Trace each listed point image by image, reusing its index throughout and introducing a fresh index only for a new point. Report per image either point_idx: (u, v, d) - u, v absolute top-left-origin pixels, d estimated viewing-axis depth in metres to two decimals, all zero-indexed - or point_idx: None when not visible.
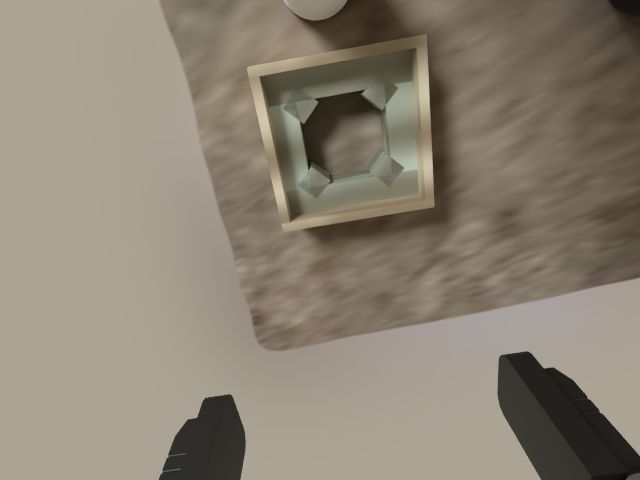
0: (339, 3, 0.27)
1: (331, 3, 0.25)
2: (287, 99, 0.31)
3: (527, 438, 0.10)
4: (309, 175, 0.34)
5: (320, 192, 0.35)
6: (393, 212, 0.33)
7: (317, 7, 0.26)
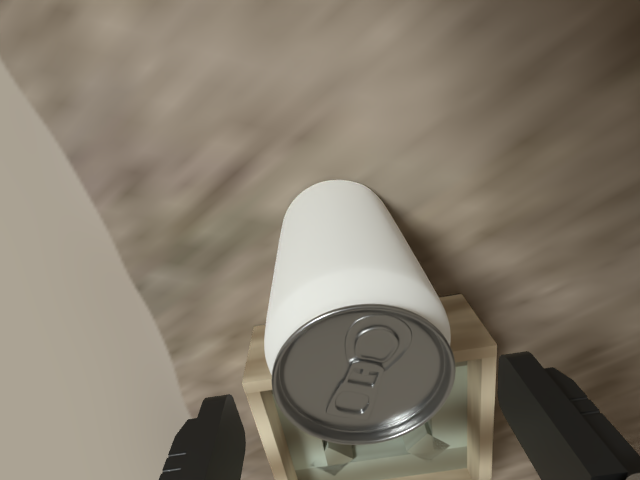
0: None
1: None
2: None
3: (527, 438, 0.10)
4: (325, 455, 0.26)
5: (339, 469, 0.27)
6: None
7: None
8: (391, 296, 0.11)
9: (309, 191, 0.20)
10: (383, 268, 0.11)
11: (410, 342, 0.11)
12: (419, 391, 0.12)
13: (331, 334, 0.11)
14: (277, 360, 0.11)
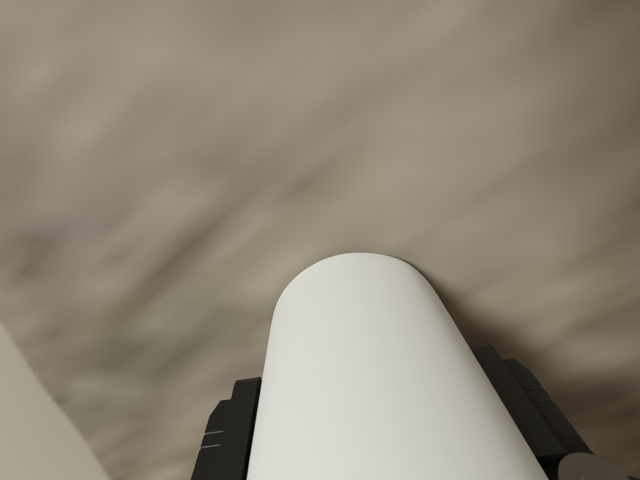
0: None
1: None
2: None
3: None
4: None
5: None
6: None
7: None
8: None
9: (315, 275, 0.12)
10: None
11: None
12: None
13: None
14: None
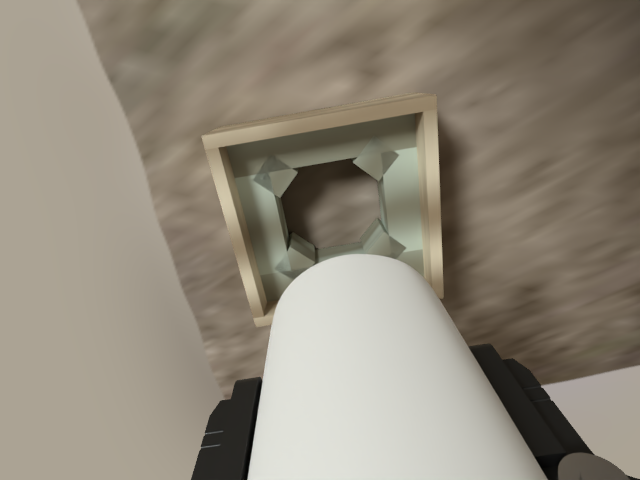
0: None
1: None
2: (258, 169, 0.25)
3: None
4: (288, 256, 0.27)
5: None
6: None
7: None
8: None
9: (315, 277, 0.12)
10: None
11: None
12: None
13: None
14: None
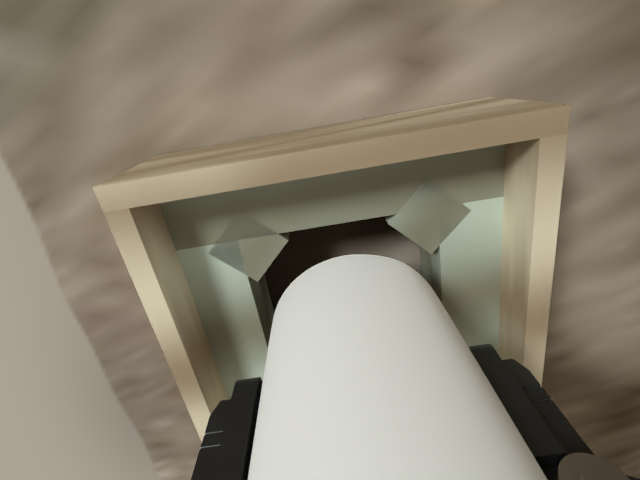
0: None
1: None
2: (218, 236, 0.14)
3: None
4: None
5: None
6: None
7: None
8: None
9: (315, 277, 0.12)
10: None
11: None
12: None
13: None
14: None
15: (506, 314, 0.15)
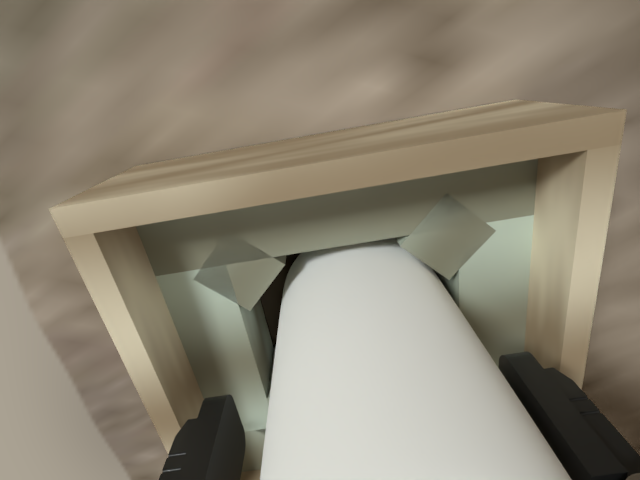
0: None
1: None
2: (204, 259, 0.12)
3: None
4: None
5: None
6: None
7: None
8: None
9: None
10: None
11: None
12: None
13: None
14: None
15: (534, 347, 0.13)
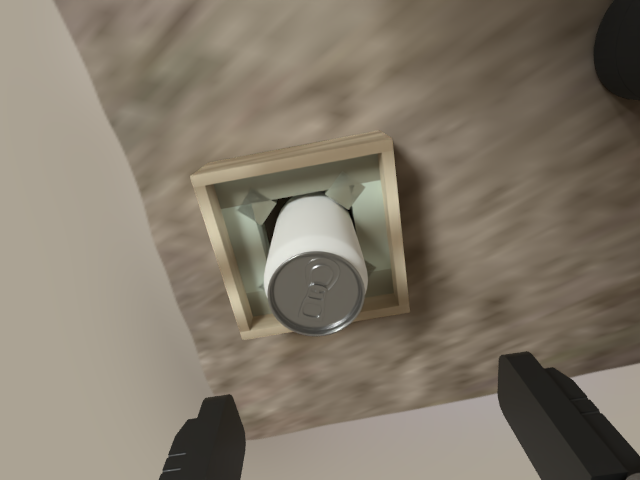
0: None
1: None
2: (242, 201, 0.28)
3: (527, 438, 0.10)
4: None
5: None
6: (364, 318, 0.30)
7: None
8: (328, 248, 0.21)
9: (293, 198, 0.30)
10: (325, 235, 0.21)
11: (339, 273, 0.21)
12: (348, 303, 0.22)
13: (298, 269, 0.21)
14: (269, 283, 0.21)
15: (389, 241, 0.29)
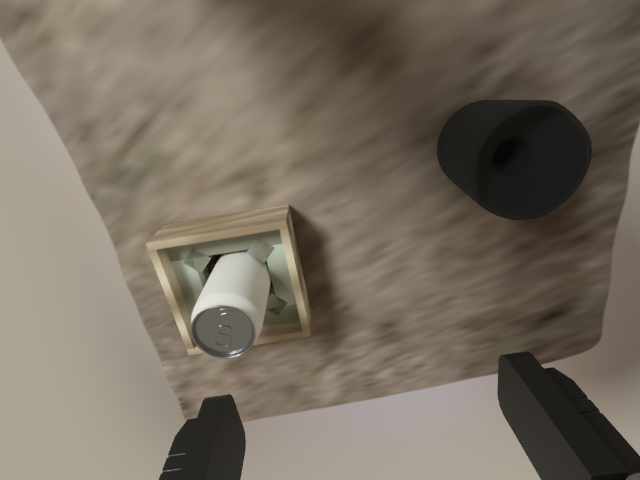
0: None
1: None
2: (186, 256, 0.39)
3: (527, 438, 0.10)
4: None
5: None
6: (277, 340, 0.41)
7: None
8: (230, 302, 0.32)
9: None
10: (230, 293, 0.32)
11: (238, 318, 0.32)
12: (246, 337, 0.33)
13: (210, 316, 0.32)
14: (191, 325, 0.32)
15: None
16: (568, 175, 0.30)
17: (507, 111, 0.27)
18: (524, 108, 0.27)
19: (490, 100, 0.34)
